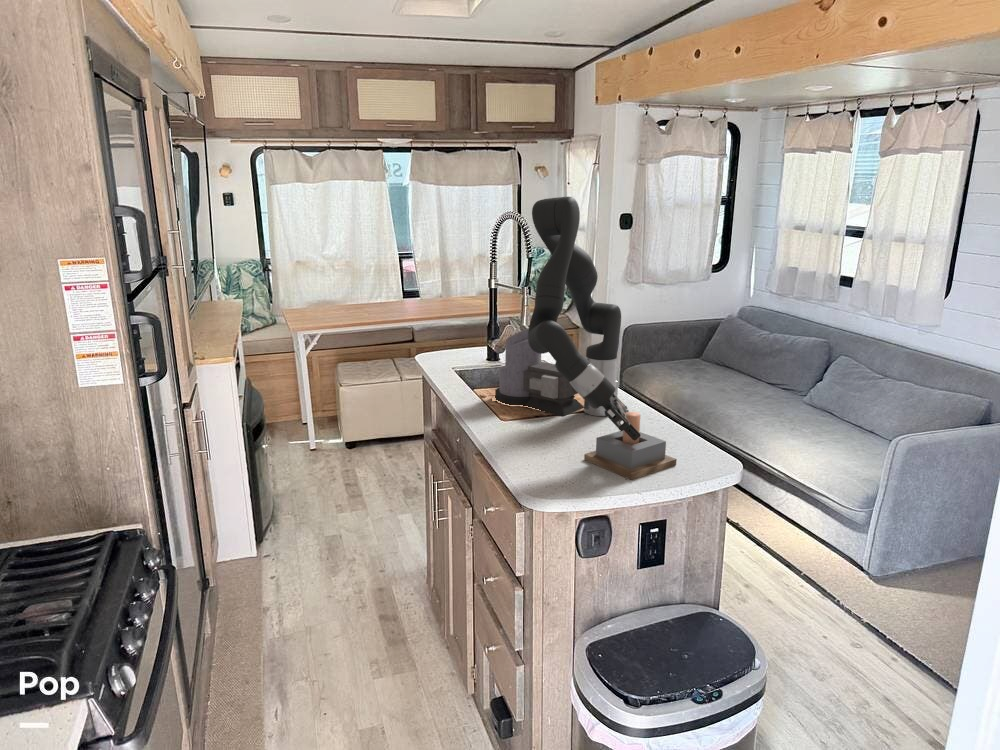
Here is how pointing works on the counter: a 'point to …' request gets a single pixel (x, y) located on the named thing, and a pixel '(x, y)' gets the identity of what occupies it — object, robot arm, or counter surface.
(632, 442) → the peg
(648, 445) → the socket
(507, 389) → the juicer
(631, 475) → the socket board
